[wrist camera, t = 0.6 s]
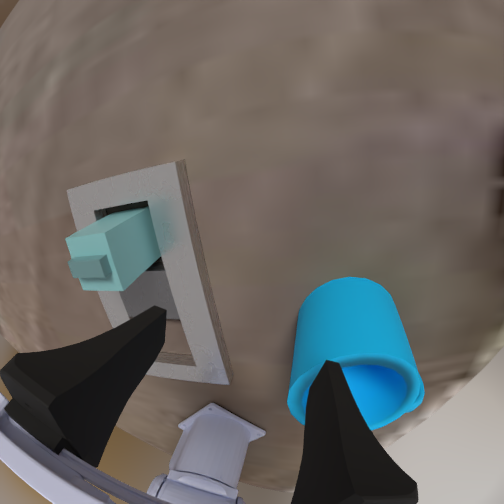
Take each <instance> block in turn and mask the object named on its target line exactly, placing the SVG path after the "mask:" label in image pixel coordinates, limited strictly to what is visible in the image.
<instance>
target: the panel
mask: <svg viewBox="0 0 504 504" xmlns="http://www.w3.org/2000/svg"><path fill="white" fill-rule="evenodd" d="M67 194H68V199H69V203H70V207H71V210H72V214H73V218H74V222H75V225H76V229H77V232H78V231H79V230H81V229H83V228H85V227H87V226H89V225H90V224H92V223H94V222H96V221H98V220H100V219H102V218H104V217H106V216H107V213H106V210H105V208H109V207H114V206H119V205H124V204H129V203H135V202H140V201H146V200H147V201H148V205H149V209H150V214H151V218H152V222H153V226H154V230H155V234H156V238H157V242H158V246H159V249H160V253H161V257H162V261H163V263H153V264H152V265H151V266H150V267H149V268H148V269H146V270H145V271H144V272H143V273H142V274H141V275H140V276H139V277H138V278H137V279H136V280H135V281H134V282H133V283H132V284H130V285H129V286H128V287H127V288H126V289H125V290H124V291H98V293H99V296H100V298H101V301H102V303H103V306H104V308H105V311H106V313H107V315H108V318H109V320H110V322H111V325H112V327H113V328H115V327H117V326H119V325H121V324H123V323H125V322H126V321H128V320H130V319H132V318H133V317H135V316H137V315H139V314H140V313H142V312H144V311H145V310H147V309H149V308H150V307H152V306H154V305H155V306H158V307H161V308H163V309H166V310H167V315H166V319H180V320H181V323H182V326H183V329H184V332H185V335H186V338H187V341H188V344H189V347H190V350H191V352H192V355H183V354H172V353H163V352H160V353H159V354H158V356H157V358H156V360H155V362H154V363H153V364H152V366H151V367H150V369H149V370H148V372H147V373H146V375H152V376H158V377H164V378H171V379H178V380H186V381H194V382H203V383H213V384H224V385H230V382H231V379H232V376H233V371H232V367H231V364H230V360H229V356H228V353H227V349H226V345H225V341H224V338H223V334H222V330H221V326H220V322H219V318H218V314H217V310H216V306H215V302H214V298H213V294H212V290H211V285H210V281H209V277H208V273H207V268H206V264H205V259H204V255H203V250H202V246H201V241H200V237H199V232H198V227H197V222H196V218H195V213H194V208H193V203H192V198H191V193H190V188H189V182H188V177H187V172H186V166H185V161H184V160H179V161H174V162H169V163H164V164H160V165H155V166H151V167H147V168H143V169H138V170H134V171H130V172H126V173H123V174H119V175H115V176H111V177H108V178H104V179H100V180H97V181H94V182H90V183H87V184H83V185H80V186H77V187H74V188H71V189H69V190H67Z"/></svg>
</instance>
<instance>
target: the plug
mask: <svg viewBox="0 0 504 504" xmlns="http://www.w3.org/2000/svg"><path fill="white" fill-rule="evenodd" d="M65 239H66V242H67V246H68V249H69V252H70V255H71V258H72V259H71V260H70V261H68V265H69V267H70V270H71V273H72V276H73V278H79V280H80V282H81V285H82V288H83V290H96V291H124V290H125V289H126V288H127V287H128V286H129V285H130V284H132V283H133V282H134V281H135V280H136V279H137V278H138V277H139V276H140V275H141V274H142V273H143V272H144V271H145V270H146V269H148V268H149V267H150V266H151V265H152V264H153V263H154V262H155V261H156V260H157V259H158V258H159V257H161V253H160V249H159V246H158V242H157V238H156V234H155V230H154V226H153V222H152V218H151V214H150V209H149V206H148V207H142V208H136V209H130V210H125V211H119V212H113V213H111V214H109V215H107V216H106V217H104V218H102V219H100V220H98V221H96V222H94V223H92V224H90V225H89V226H87V227H85V228H83V229H81V230H79V231H78V232H76V233H74V234H72V235H71V236H69V237H67V238H65Z"/></svg>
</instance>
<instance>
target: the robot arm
mask: <svg viewBox="0 0 504 504" xmlns="http://www.w3.org/2000/svg"><path fill="white" fill-rule="evenodd" d="M166 315H167V310H166V309H163V308H161V307H158V306H155V305H154V306H152V307H150V308H149V309H147V310H145V311H144V312H142V313H140V314H139V315H137V316H135V317H133V318H132V319H130V320H128V321H126V322H125V323H123V324H121V325H119V326H117V327H115V328H113V329H111V330H109V331H107V332H105V333H103V334H101V335H98V336H96V337H94V338H91V339H89V340H86V341H83V342H80V343H77V344H73V345H70V346H66V347H63V348H58V349H53V350H48V351H41V352H31V353H17V354H16V355H15V356H14V357H13V358H12V359H11V360H10V361H9V362H8V363H7V364H6V365H5V366H4V367H3V368H2V369H1V370H0V376H1V379H2V380H3V382H4V384H5V386H6V388H7V389H8V391H9V393H10V394H11V396H12V400H11V401H10V402H9V401H8V400H7V399H6V397H5V396H4V395H3V394H2V393H1V392H0V459H1V460H2V461H3V462H4V463H5V464H6V465H7V466H8V467H9V468H10V469H11V470H12V471H13V472H15V473H16V474H17V475H18V476H19V477H20V478H21V479H23V480H24V481H25V482H26V483H27V484H29V485H30V486H31V487H32V488H33V489H35V490H36V491H37V492H38V493H40V494H41V495H42V496H44V497H45V498H46V499H48V500H49V501H51V502H52V503H53V504H116V503H114V502H113V501H112V500H111V499H110V498H109V496H108V495H107V494H105V493H103V492H102V491H100V490H98V489H97V488H96V487H94V486H93V485H95V486H97V487H98V488H100V489H102V490H104V491H105V492H108V493H110V494H111V495H113V496H115V497H117V498H119V499H121V500H123V501H125V502H127V503H129V504H245V502H244V501H243V498H241V497H237V495H238V490H237V489H236V488H237V485H238V481H239V478H240V474H241V470H242V467H243V463H244V459H245V456H246V452H247V448H248V444H249V442H251V441H253V440H255V439H258V438H260V437H262V436H264V435H265V434H266V431H264V430H262V429H260V428H259V427H257V426H255V425H253V424H251V423H249V422H247V421H245V420H243V419H241V418H239V417H238V416H236V415H234V414H232V413H230V412H229V411H227V410H225V409H223V408H222V407H220V406H218V405H216V404H215V403H210V404H208V405H207V406H205V407H204V408H202V409H201V410H199V411H198V412H196V413H195V414H193V415H192V416H190V417H189V418H187V419H186V420H184V421H182V422H181V423H179V425H178V427H179V428H181V429H182V430H184V431H183V433H182V435H181V437H180V440H179V442H178V444H177V447H176V449H175V451H174V453H173V456H172V458H171V460H170V463H169V470H170V472H169V474H168V475H166V474H161V475H159V476H156V477H155V478H154V480H153V481H152V483H151V485H150V487H149V489H148V491H147V493H144V492H142V491H140V490H137V489H135V488H133V487H131V486H129V485H127V484H125V483H123V482H121V481H119V480H117V479H115V478H113V477H111V476H109V475H107V474H105V473H103V472H102V471H100V470H98V469H96V467H98V465H99V462H100V460H101V457H102V454H103V452H104V449H105V447H106V445H107V442H108V440H109V438H110V435H111V433H112V431H113V429H114V427H115V425H116V423H117V421H118V418H119V416H120V414H121V413H122V411H123V409H124V407H125V405H126V403H127V401H128V399H129V398H130V396H131V395H132V393H133V392H134V390H135V389H136V387H137V386H138V384H139V383H140V382H141V380H142V379H143V377H144V376H145V375H146V373H147V372H148V370H149V369H150V367H151V366H152V364H153V363H154V362H155V360H156V358H157V356H158V354H159V353H160V351H161V349H162V347H163V345H164V343H165V330H166ZM85 480H86V481H85ZM87 481H88V482H90V483H91V484H93V485H91V484H90V483H88V482H87ZM417 502H418V490H417V483H416V482H415V481H414V480H413V479H412V478H411V477H410V476H409V475H407V474H406V473H405V472H404V471H403V470H402V469H401V468H400V467H399V466H398V465H397V464H396V463H395V462H394V461H393V460H392V458H391V457H390V456H389V455H388V454H387V452H386V451H385V450H384V449H383V447H382V446H381V445H380V443H379V442H378V441H377V439H376V438H375V436H374V435H373V433H372V431H371V430H370V428H369V427H368V425H367V423H366V422H365V420H364V418H363V416H362V414H361V412H360V410H359V408H358V406H357V404H356V402H355V399H354V397H353V395H352V393H351V390H350V388H349V386H348V383H347V381H346V378H345V376H344V373H343V371H342V368H341V366H340V364H339V363H338V362H334V361H330V360H326V361H325V363H324V364H323V366H322V368H321V370H320V371H319V373H318V375H317V376H316V378H315V380H314V381H313V383H312V384H311V386H310V388H309V393H308V398H307V404H306V413H305V430H304V446H303V455H302V461H301V466H300V471H299V475H298V479H297V483H296V487H295V491H294V495H293V498H292V502H291V504H416V503H417Z"/></svg>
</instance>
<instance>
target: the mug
mask: <svg viewBox="0 0 504 504" xmlns="http://www.w3.org/2000/svg"><path fill="white" fill-rule="evenodd" d="M326 360H330V361H334V362H338V363H339V364H340V366H341V368H342V371H343V373H344V376H345V378H346V381H347V383H348V386H349V388H350V390H351V393H352V395H353V397H354V399H355V402H356V404H357V406H358V408H359V410H360V412H361V414H362V416H363V418H364V420H365V422H366V423H367V425H368V427H369V428H370V430H374V429H377V428H380V427H383V426H385V425H387V424H389V423H391V422H392V421H394V420H396V419H398V418H399V417H400V416H402V415H403V414H404V413H407V412H411V411H413V410H414V409H415V408H417V407H418V406H419V405H420V404H421V403H422V400H423V397H424V394H425V392H424V385H423V382H422V379H421V377H420V375H419V373H418V370H417V367H416V364H415V360H414V357H413V354H412V351H411V348H410V345H409V342H408V339H407V336H406V333H405V331H404V328H403V325H402V322H401V320H400V317H399V314H398V312H397V309H396V306H395V304H394V302H393V299H392V297H391V295H390V294H389V293H388V292H387V291H386V290H385V289H384V288H383V287H382V286H381V285H380V284H378V283H375V282H373V281H371V280H368V279H366V278H356V277H346V278H341V279H335V280H332V281H330V282H328V283H326V284H324V285H321V286H319V287H317V288H316V289H315V290H314V291H313V292H312V293H311V294H310V295H309V296H308V297H307V298H306V299H305V301H304V303H303V304H302V306H301V308H300V310H299V315H298V322H297V331H296V339H295V348H294V356H293V363H292V371H291V378H290V385H289V392H288V399H287V404H288V407H289V409H290V412H291V414H292V415H293V416H294V417H295V418H296V419H297V420H298V421H299V422H300V423H301V424H303V425H305V413H306V404H307V398H308V393H309V388H310V386H311V384H312V383H313V381H314V380H315V378H316V376H317V375H318V373H319V371H320V370H321V368H322V366H323V364H324V363H325V361H326Z"/></svg>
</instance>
